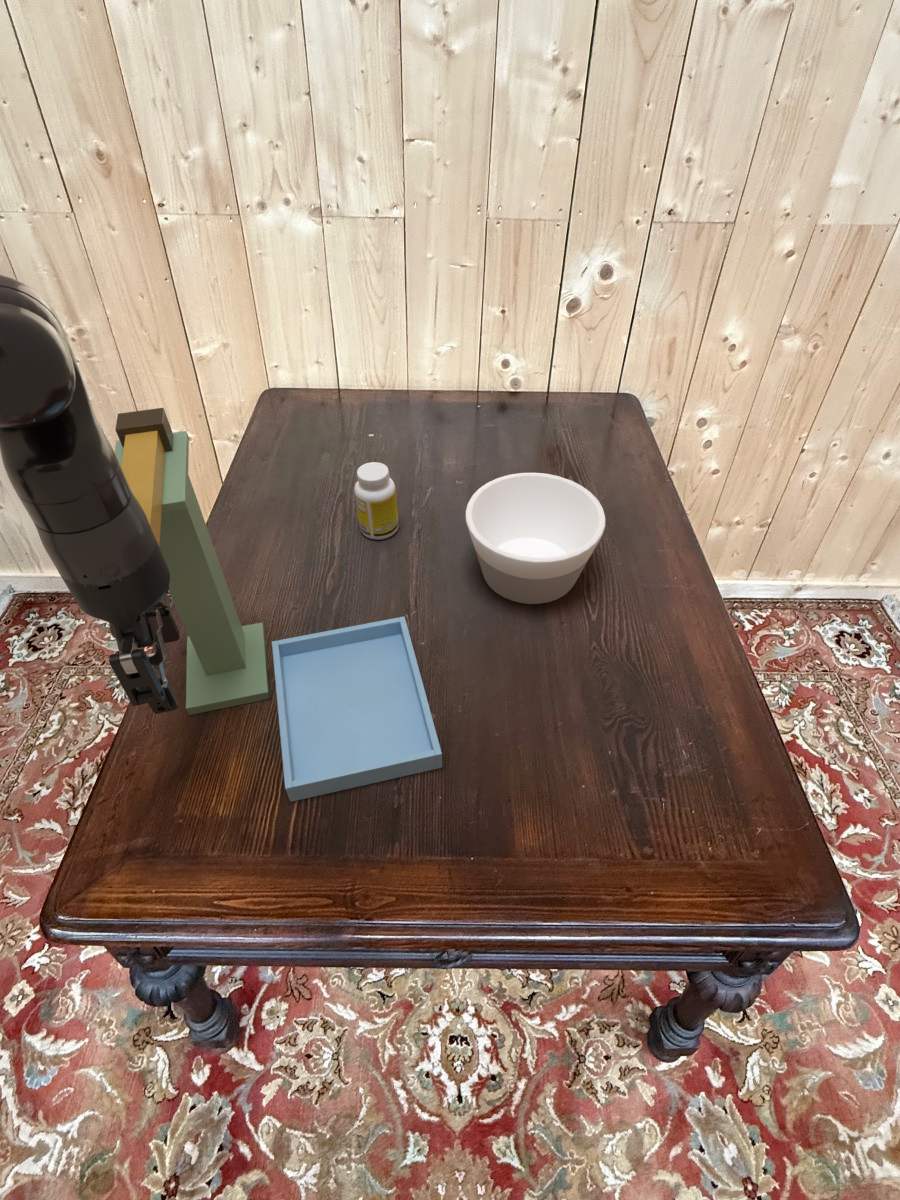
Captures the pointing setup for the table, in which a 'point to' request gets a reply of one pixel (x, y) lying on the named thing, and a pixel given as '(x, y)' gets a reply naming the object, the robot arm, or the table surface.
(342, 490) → the table surface
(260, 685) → the stand
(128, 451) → the brass bolt
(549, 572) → the bowl
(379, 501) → the pill bottle
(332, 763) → the tray
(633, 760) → the table surface
